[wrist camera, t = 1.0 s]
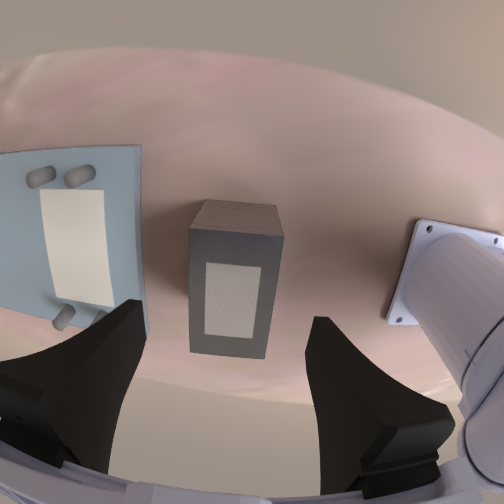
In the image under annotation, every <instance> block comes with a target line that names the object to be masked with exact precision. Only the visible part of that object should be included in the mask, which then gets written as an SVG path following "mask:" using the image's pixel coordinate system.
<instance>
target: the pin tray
mask: <svg viewBox="0 0 504 504" xmlns="http://www.w3.org/2000/svg"><path fill="white" fill-rule="evenodd" d="M140 168H141V145H103V146H78V147H61V148H47V149H36V150H26V151H17V152H8V153H0V306H1V307H4V308H8V309H11V310H15V311H18V312H22V313H25V314H29V315H33V316H36V317H40V318H44V319H48V320H52V324H53V326H54V327H55V328H56V329H57V330H59V331H63V330H64V328H65V327H66V326H67V324H69V325H73V326H78V327H82V328H88V327H90V326H91V325H93V324H94V323H96V322H97V321H99V320H100V319H101V318H103V317H104V316H106V315H107V314H108V313H110V312H111V311H112V310H114V309H115V308H117V307H118V306H119V305H121V304H122V303H123V302H125V301H126V300H128V299H135V300H142V303H143V312H144V321H145V329H146V336H147V334H148V331H149V328H148V320H147V310H146V300H145V289H144V276H143V262H142V243H141V211H140Z"/></svg>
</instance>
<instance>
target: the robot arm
mask: <svg viewBox="0 0 504 504" xmlns="http://www.w3.org/2000/svg"><path fill="white" fill-rule="evenodd" d="M429 225H430V228H429V230H428V231H426V229H427V227H428V226H429ZM494 239H495V240H494ZM399 317H400V318H399ZM397 318H399V319H398V320H397ZM386 321H387V323H388V324H389V325H420V326H421V328H422V329H423V331H424V332H425V334H426V335H427V337H428V338H429V340H430V341H431V343H432V344H433V346H434V348H435V349H436V351H437V352H438V354H439V355H440V357H441V359H442V360H443V362H444V363H445V365H446V367H447V368H448V370H449V371H450V373H451V375H452V376H453V378H454V380H455V381H456V383H457V385H458V386H459V388H460V390H461V392H462V393H463V397H462V399H461V401H460V403H459V404H458V407H459V409H460V411H461V413H462V414H463V416H464V419H465V420H464V422H463V423H462V425H461V427H460V429H459V432H458V436H457V452H458V456H459V458H457V459H454V460H451V461H448V462H446V463H443V464H442V465H440V466H437V463H436V460H438V459H439V455H438V452H437V449H438V448H439V447H440V446H441V445H442V444H443V443H444V442H445V441H446V440H447V439H448V437H449V436H450V435H451V434H452V432H453V430H454V427H455V421H454V419H453V417H452V415H451V413H450V411H449V409H448V407H447V405H445V404H442V403H440V402H437V401H435V400H432V399H430V398H427V397H425V396H423V395H421V394H419V393H417V392H415V391H413V390H411V389H409V388H408V387H406V386H404V385H403V384H401V383H399V382H398V381H396V380H395V379H393V378H392V377H390V376H389V375H387V374H386V373H385V372H384V371H382V370H381V369H380V368H378V367H377V366H376V365H375V364H373V363H372V362H371V361H370V360H369V359H368V358H367V357H366V356H365V355H364V354H362V353H361V352H360V351H359V350H358V349H357V348H356V347H355V346H354V345H353V343H352V342H351V341H350V340H349V339H348V338H347V337H346V336H345V335H344V334H343V333H342V331H341V330H340V329H339V328H338V327H337V326H336V325H335V324H334V322H333V321H332V320H331V319H330V318H329V317H319V316H314V320H313V324H312V328H311V332H310V336H309V339H308V343H307V347H306V350H305V360H306V371H307V376H308V381H309V386H310V390H311V394H312V399H313V403H314V407H315V412H316V417H317V423H318V434H319V447H320V469H321V470H320V472H321V490H320V496H307V497H286V498H262V497H259V496H252V495H244V494H232V493H218V492H208V491H199V490H192V489H184V488H178V487H171V486H166V485H161V484H155V483H147V482H133V481H128V480H124V479H121V478H117V477H113V476H110V475H108V468H109V460H110V454H111V448H112V443H113V438H114V433H115V429H116V424H117V420H118V416H119V412H120V408H121V405H122V402H123V399H124V396H125V394H126V392H127V389H128V387H129V385H130V382H131V380H132V378H133V375H134V373H135V371H136V368H137V366H138V364H139V361H140V359H141V356H142V353H143V349H144V346H145V342H146V338H147V337H146V329H145V321H144V312H143V303H142V300H135V299H128V300H126V301H125V302H123V303H122V304H121V305H119V306H118V307H117V308H115V309H114V310H112V311H111V312H110V313H108V314H107V315H106V316H104V317H103V318H101V319H100V320H99V321H97V322H96V323H94V324H93V325H91V326H90V327H88V328H86V329H85V330H83V331H82V332H80V333H79V334H77V335H75V336H73V337H71V338H70V339H68V340H66V341H64V342H62V343H60V344H57V345H55V346H52V347H50V348H48V349H45V350H43V351H40V352H37V353H34V354H31V355H28V356H24V357H20V358H16V359H11V360H6V361H1V362H0V417H1V420H0V493H2V494H3V495H5V496H6V497H8V498H9V499H11V500H13V501H14V502H17V503H18V504H483V503H484V498H483V496H482V493H481V491H480V488H479V487H481V488H483V489H485V490H487V491H490V492H495V493H501V494H504V236H503V235H500V234H496V233H491V232H487V231H482V230H477V229H472V228H467V227H462V226H457V225H452V224H447V223H442V222H436V221H431V220H425V219H420V220H418V221H417V222H416V224H415V228H414V232H413V235H412V239H411V243H410V246H409V250H408V253H407V257H406V260H405V263H404V267H403V270H402V273H401V276H400V279H399V282H398V285H397V288H396V291H395V294H394V297H393V300H392V303H391V306H390V308H389V311H388V314H387V316H386Z"/></svg>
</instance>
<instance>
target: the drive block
mask: <svg viewBox="0 0 504 504" xmlns="http://www.w3.org/2000/svg"><path fill="white" fill-rule="evenodd" d="M283 240H284V234H283V230H282V227H281V223H280V219H279V215H278V211H277V207H276V206H273V205H263V204H253V203H243V202H231V201H220V200H207V199H206V201H205V202H204V204H203V206H202V207H201V209H200V211H199V212H198V214H197V216H196V217H195V219H194V221H193V222H192V224H191V226H190V228H189V341H190V352H192V353H200V354H209V355H219V356H229V357H240V358H253V359H265V353H266V347H267V341H268V336H269V330H270V324H271V317H272V311H273V305H274V299H275V293H276V286H277V280H278V273H279V267H280V260H281V254H282V247H283Z"/></svg>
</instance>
